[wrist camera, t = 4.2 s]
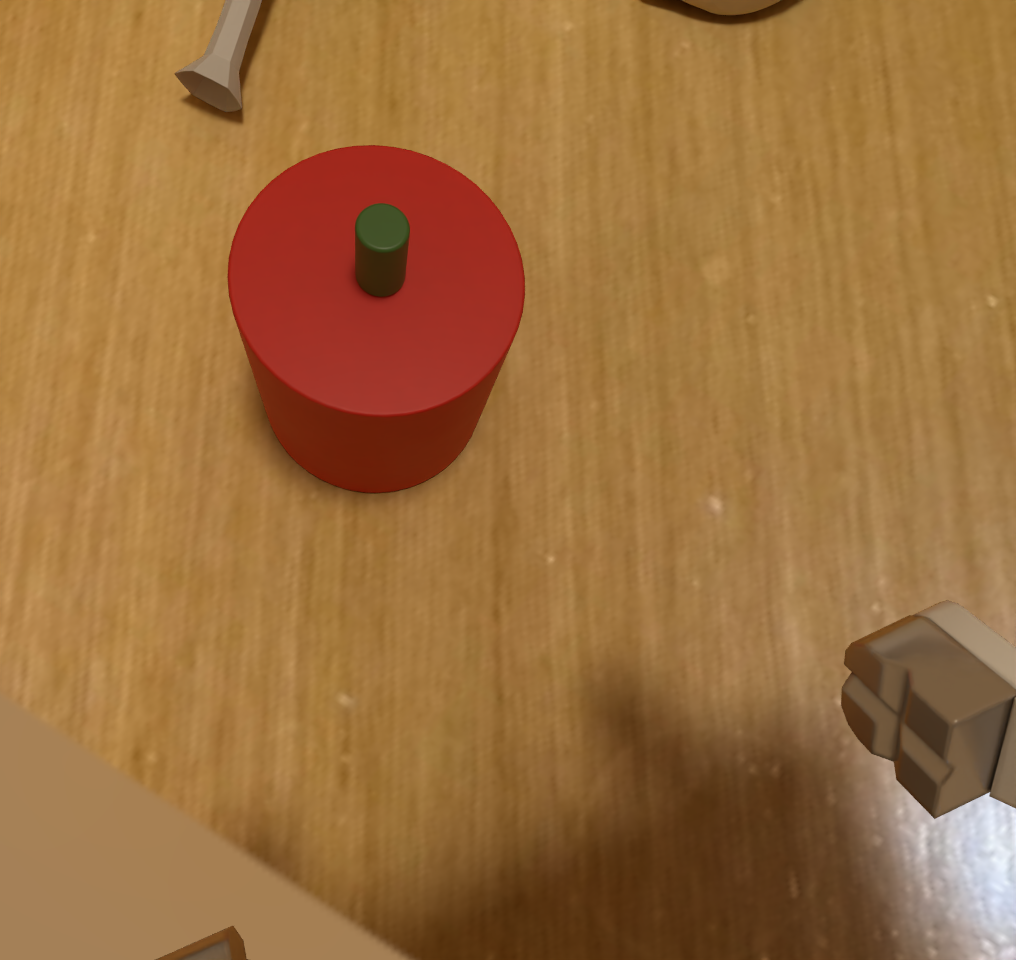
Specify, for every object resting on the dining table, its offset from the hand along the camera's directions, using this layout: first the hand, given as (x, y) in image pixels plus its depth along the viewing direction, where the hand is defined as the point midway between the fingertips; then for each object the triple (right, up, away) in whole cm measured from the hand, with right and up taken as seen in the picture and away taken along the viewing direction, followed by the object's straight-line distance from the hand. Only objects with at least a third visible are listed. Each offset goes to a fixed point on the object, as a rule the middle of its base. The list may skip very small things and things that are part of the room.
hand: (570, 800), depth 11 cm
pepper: (-4, +6, +14) cm, 16 cm away
